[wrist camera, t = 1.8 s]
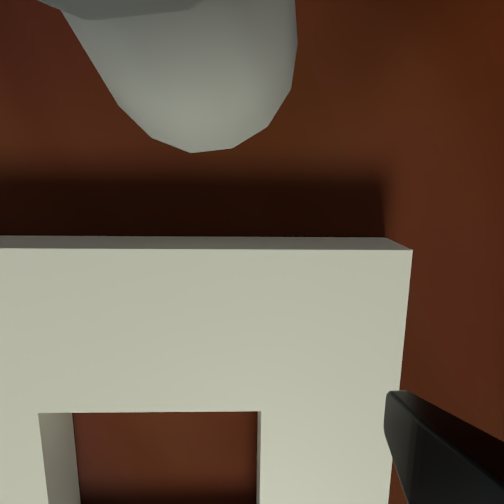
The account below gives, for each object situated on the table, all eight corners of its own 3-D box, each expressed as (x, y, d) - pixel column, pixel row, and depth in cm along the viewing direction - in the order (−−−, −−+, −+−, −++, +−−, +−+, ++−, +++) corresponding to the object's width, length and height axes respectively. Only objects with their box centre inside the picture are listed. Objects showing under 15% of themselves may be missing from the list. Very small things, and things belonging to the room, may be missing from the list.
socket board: (385, 237, 15) (412, 249, 13) (353, 627, 20) (369, 693, 17) (-77, 234, 15) (-140, 247, 12) (-10, 636, 19) (-47, 705, 17)
